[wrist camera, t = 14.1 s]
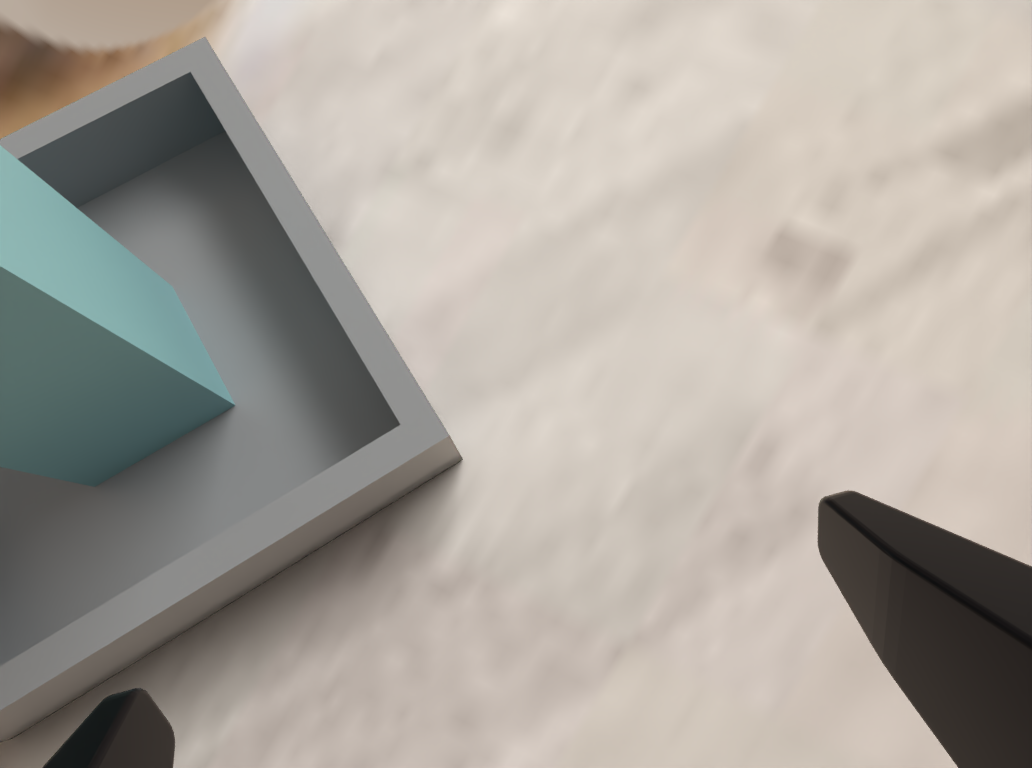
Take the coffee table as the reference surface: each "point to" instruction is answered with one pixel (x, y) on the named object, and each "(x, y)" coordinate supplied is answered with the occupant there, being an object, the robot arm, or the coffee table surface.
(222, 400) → the teal square pillar
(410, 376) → the grey crate
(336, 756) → the coffee table surface
